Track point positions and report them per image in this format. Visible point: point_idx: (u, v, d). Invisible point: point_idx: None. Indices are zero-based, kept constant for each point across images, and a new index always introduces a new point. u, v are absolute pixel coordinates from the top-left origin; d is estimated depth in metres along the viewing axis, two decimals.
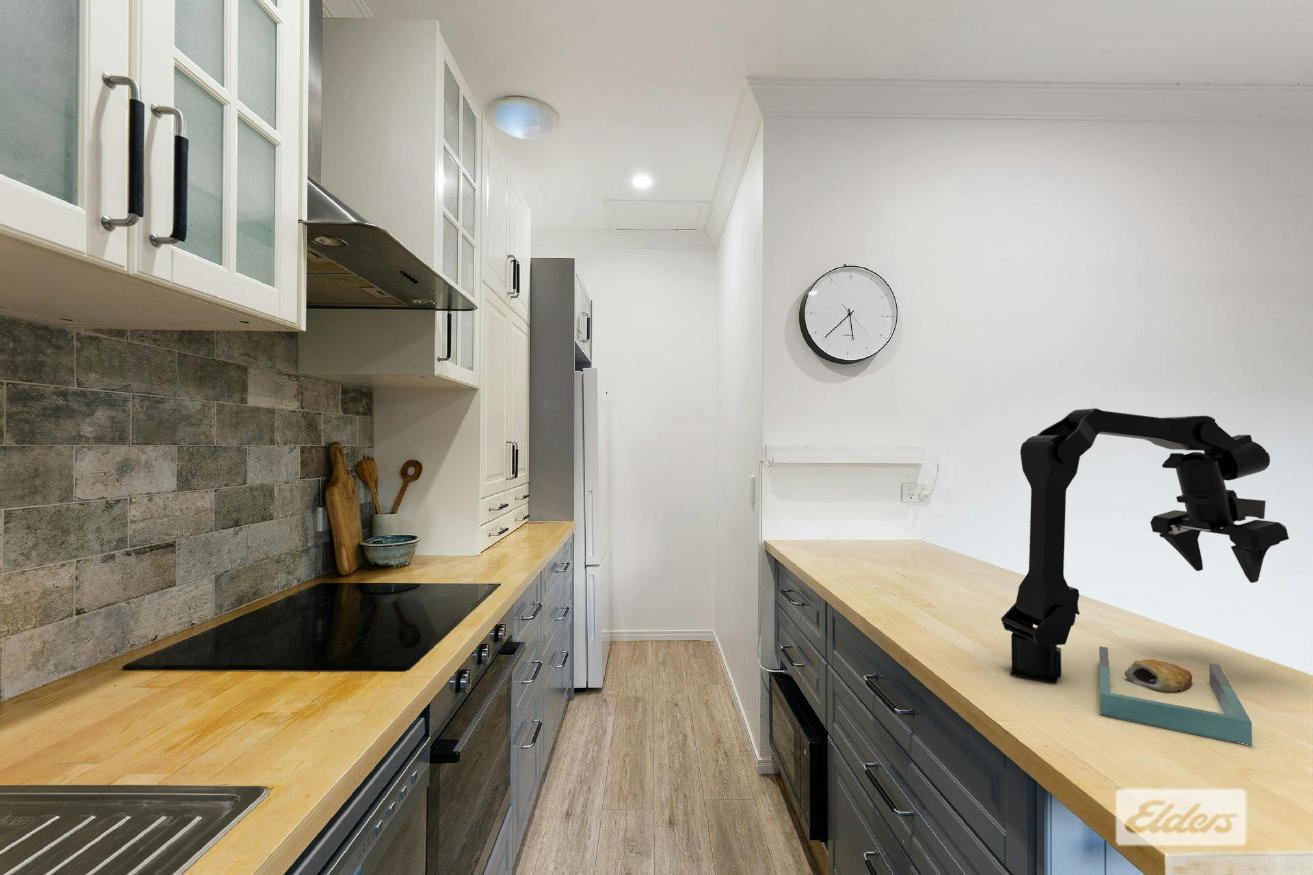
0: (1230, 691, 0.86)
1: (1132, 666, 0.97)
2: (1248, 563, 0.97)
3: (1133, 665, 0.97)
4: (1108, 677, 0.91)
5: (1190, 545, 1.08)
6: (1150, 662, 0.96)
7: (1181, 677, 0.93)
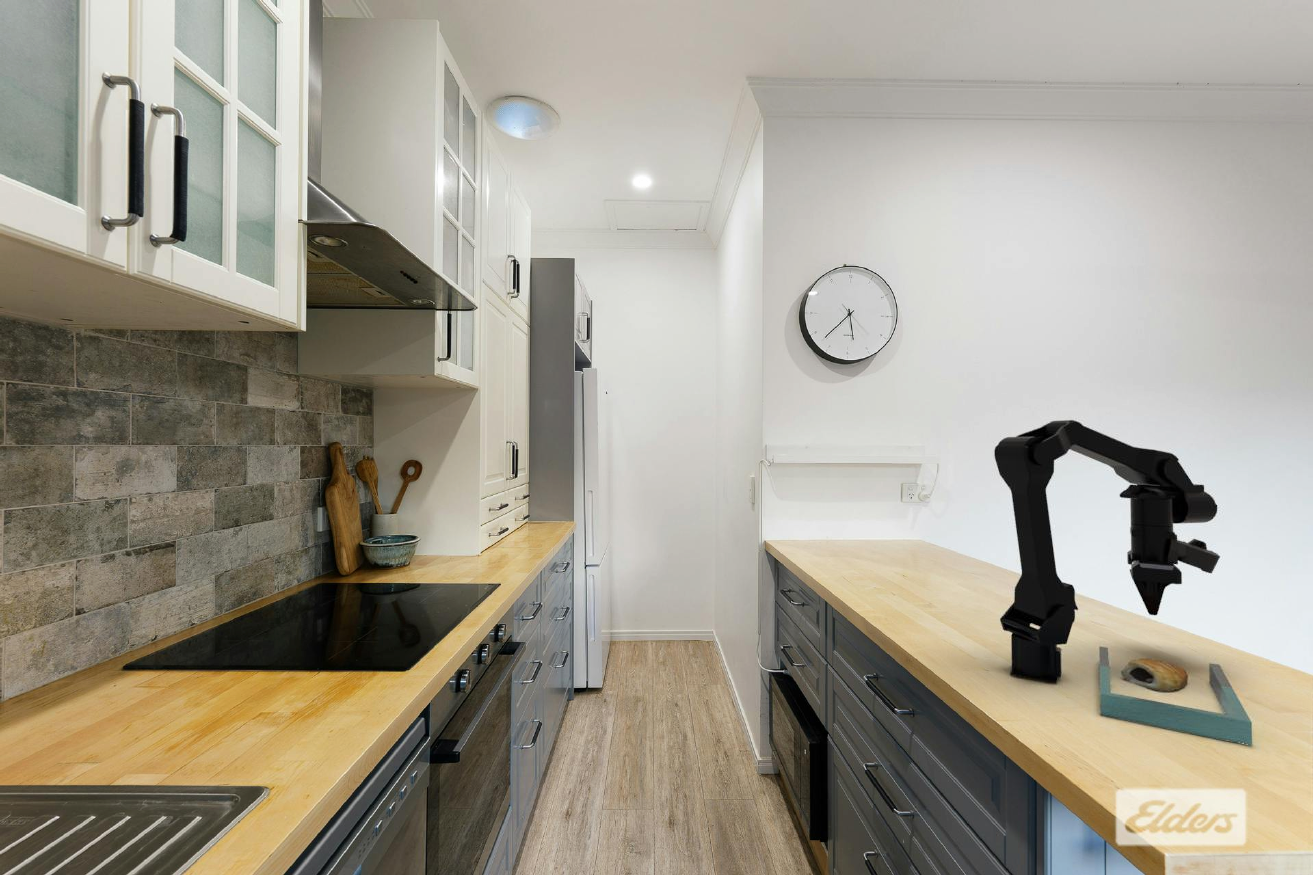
0: (1230, 691, 0.86)
1: (1129, 665, 0.97)
2: (1141, 592, 1.04)
3: (1130, 664, 0.97)
4: (1108, 677, 0.91)
5: None
6: (1146, 661, 0.97)
7: (1177, 676, 0.94)
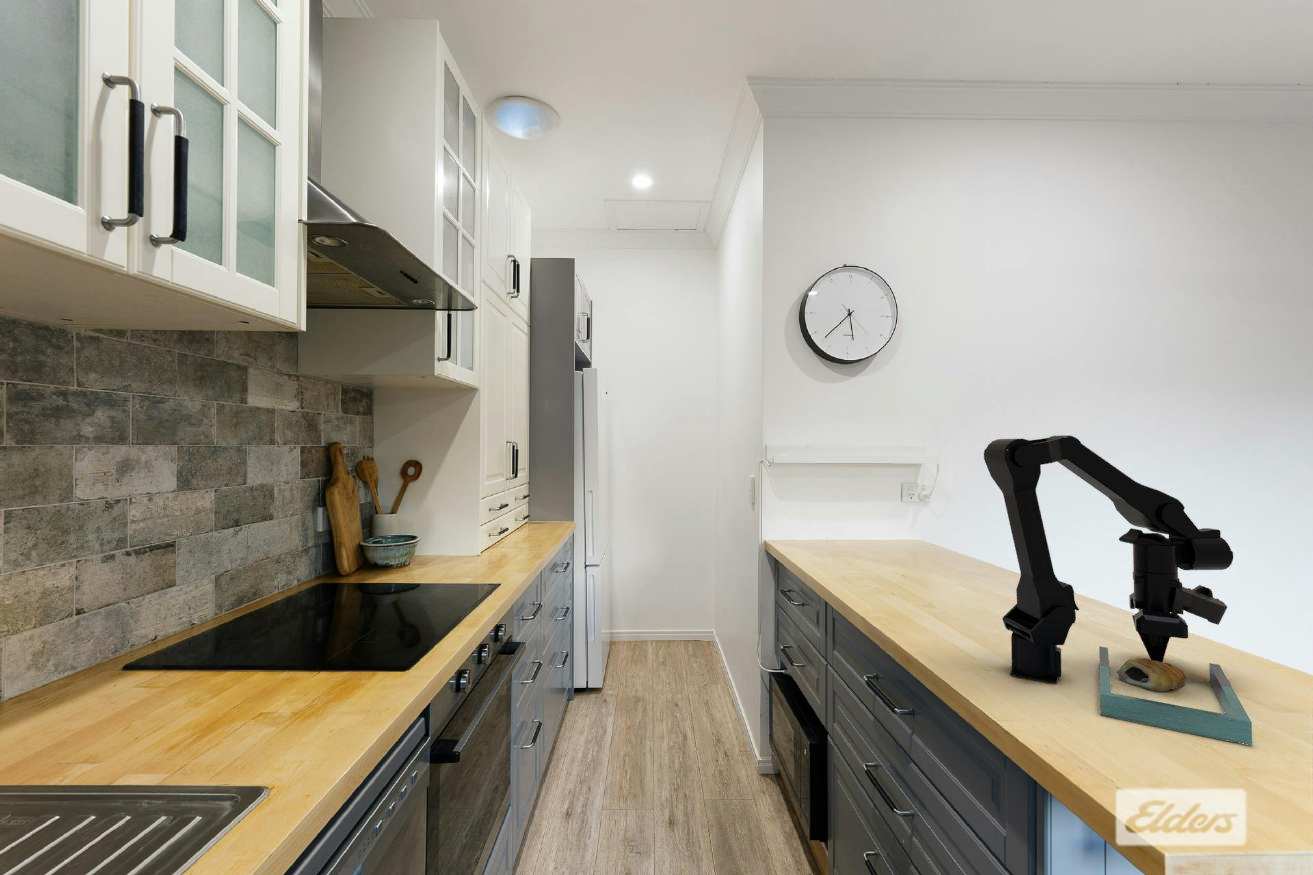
0: (1230, 691, 0.86)
1: (1124, 665, 0.97)
2: (1145, 642, 1.00)
3: (1125, 664, 0.97)
4: (1108, 677, 0.91)
5: None
6: (1142, 661, 0.96)
7: (1173, 676, 0.93)
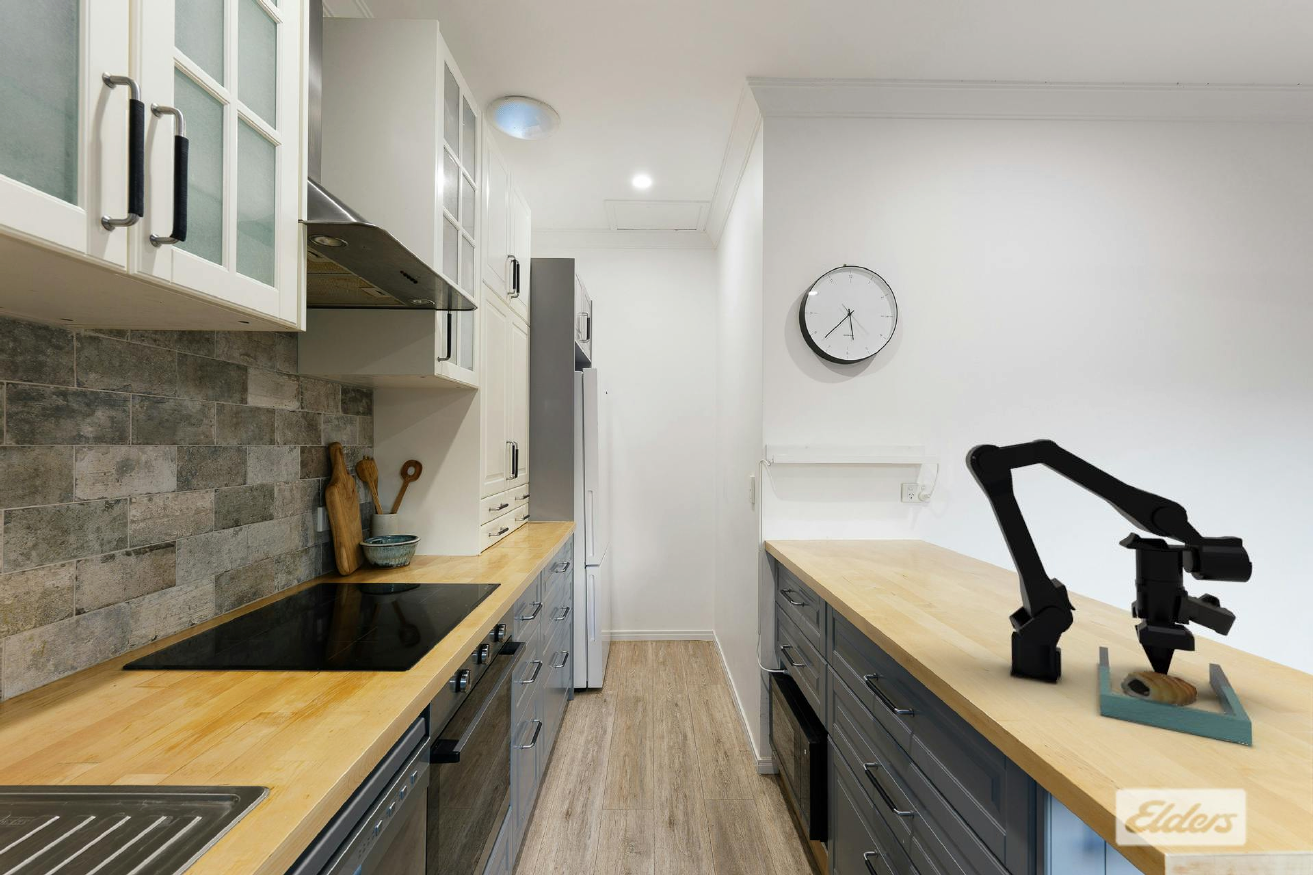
0: (1230, 691, 0.86)
1: (1127, 677, 0.92)
2: (1149, 654, 0.94)
3: (1128, 676, 0.92)
4: (1108, 677, 0.91)
5: None
6: (1148, 674, 0.91)
7: (1178, 691, 0.88)
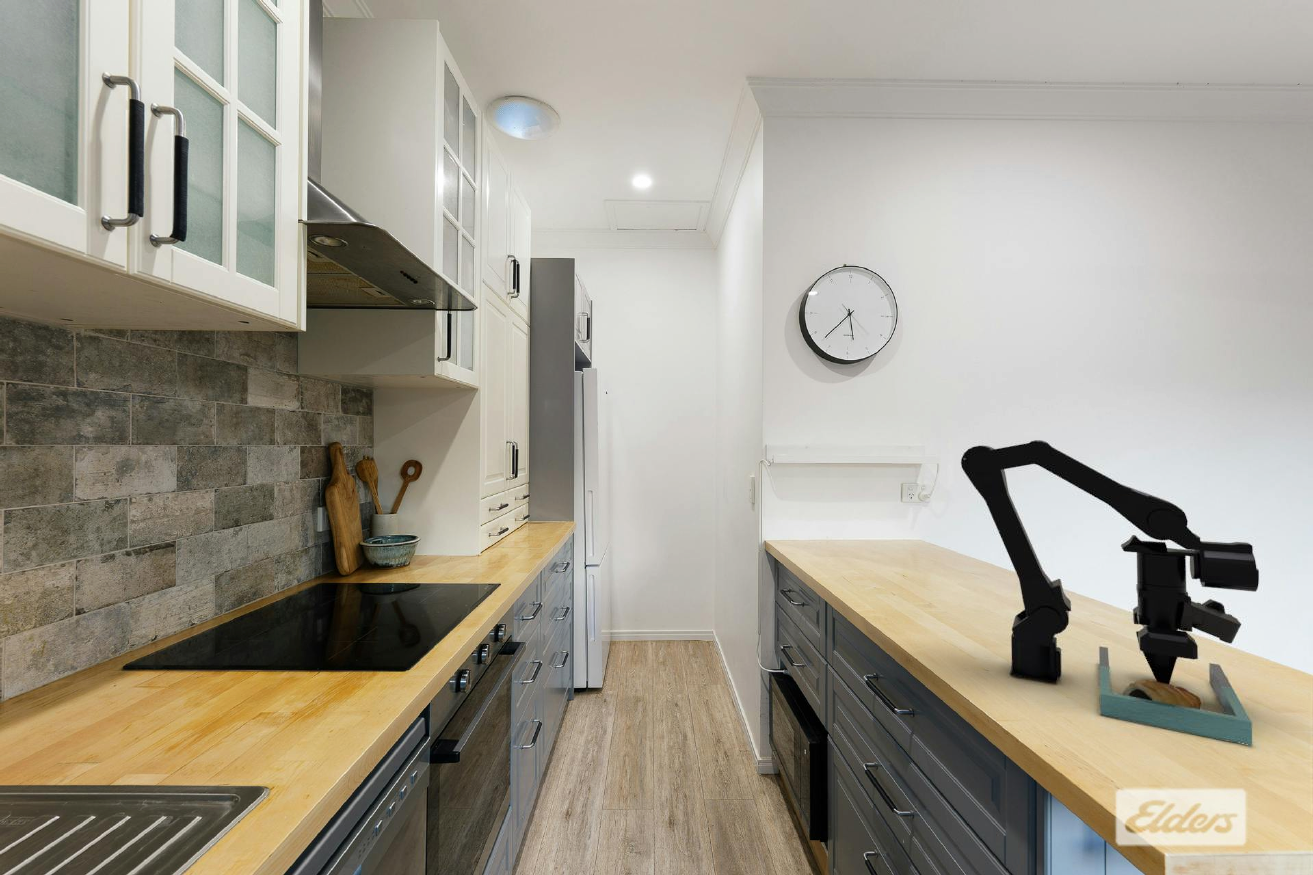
0: (1230, 691, 0.86)
1: (1129, 686, 0.89)
2: (1150, 661, 0.91)
3: (1130, 685, 0.89)
4: (1108, 677, 0.91)
5: None
6: (1150, 683, 0.88)
7: (1182, 702, 0.85)
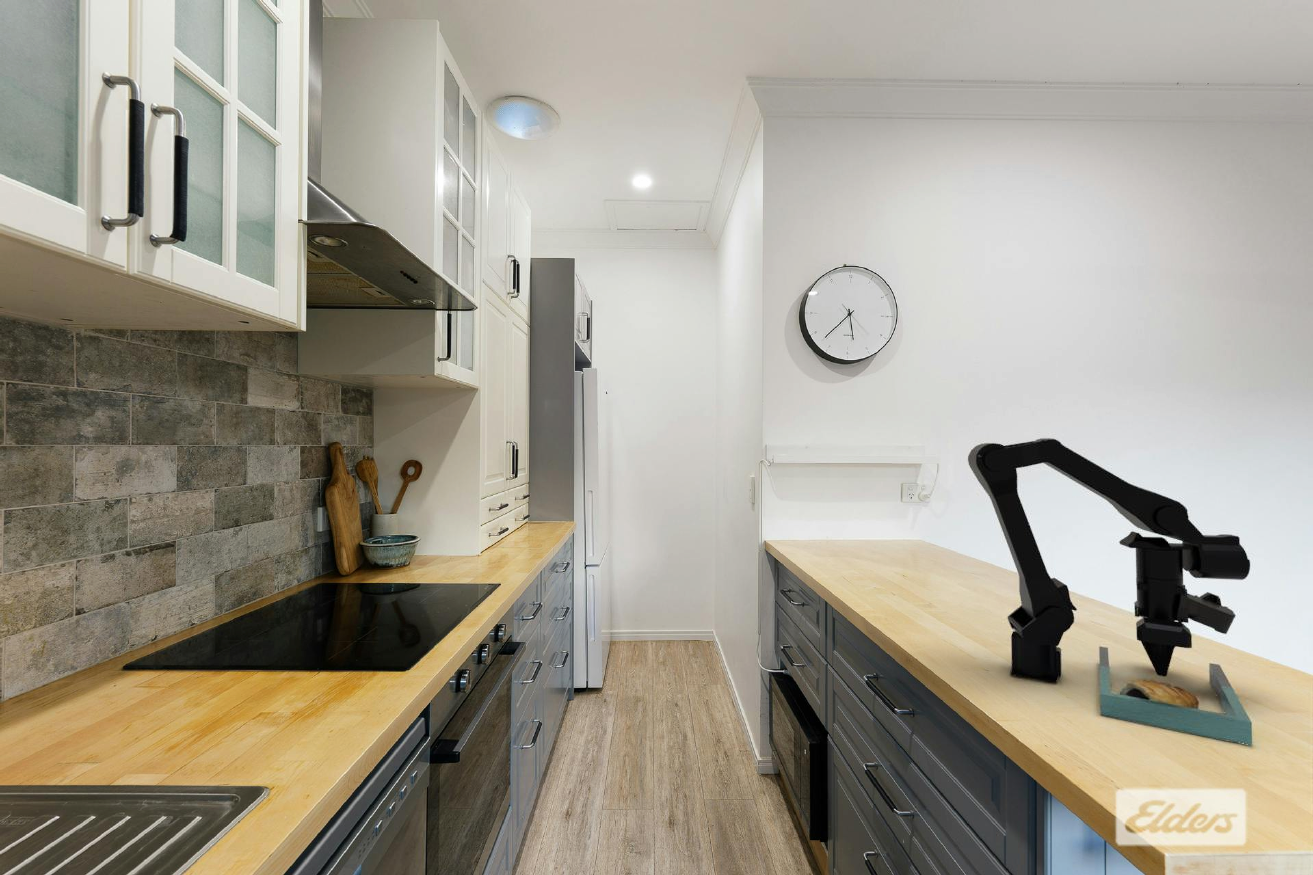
0: (1230, 691, 0.86)
1: (1126, 686, 0.89)
2: (1149, 651, 0.95)
3: (1127, 685, 0.89)
4: (1108, 677, 0.91)
5: None
6: (1147, 683, 0.88)
7: (1179, 701, 0.85)
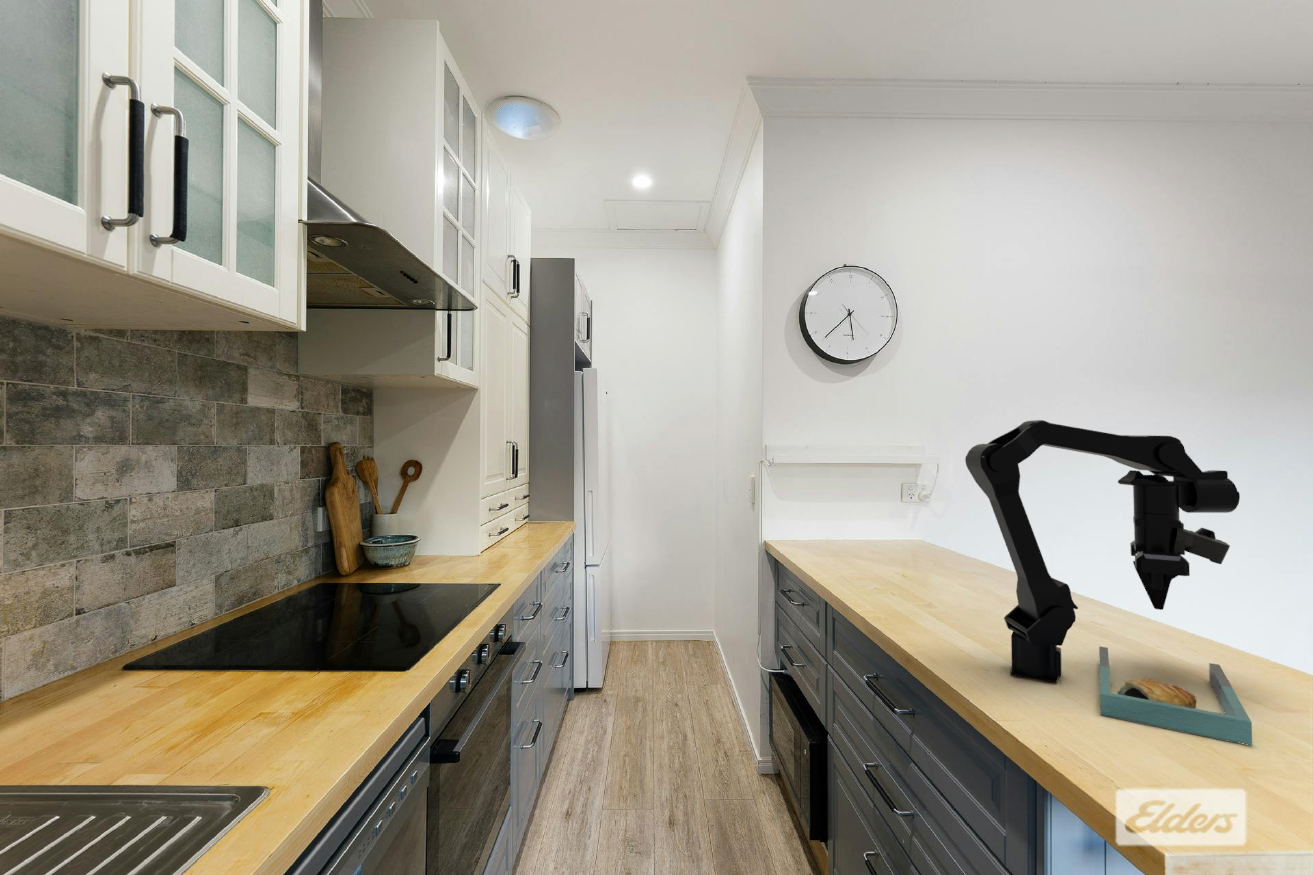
0: (1230, 691, 0.86)
1: (1124, 685, 0.89)
2: (1146, 585, 0.98)
3: (1125, 684, 0.89)
4: (1108, 677, 0.91)
5: None
6: (1145, 682, 0.88)
7: (1177, 700, 0.85)
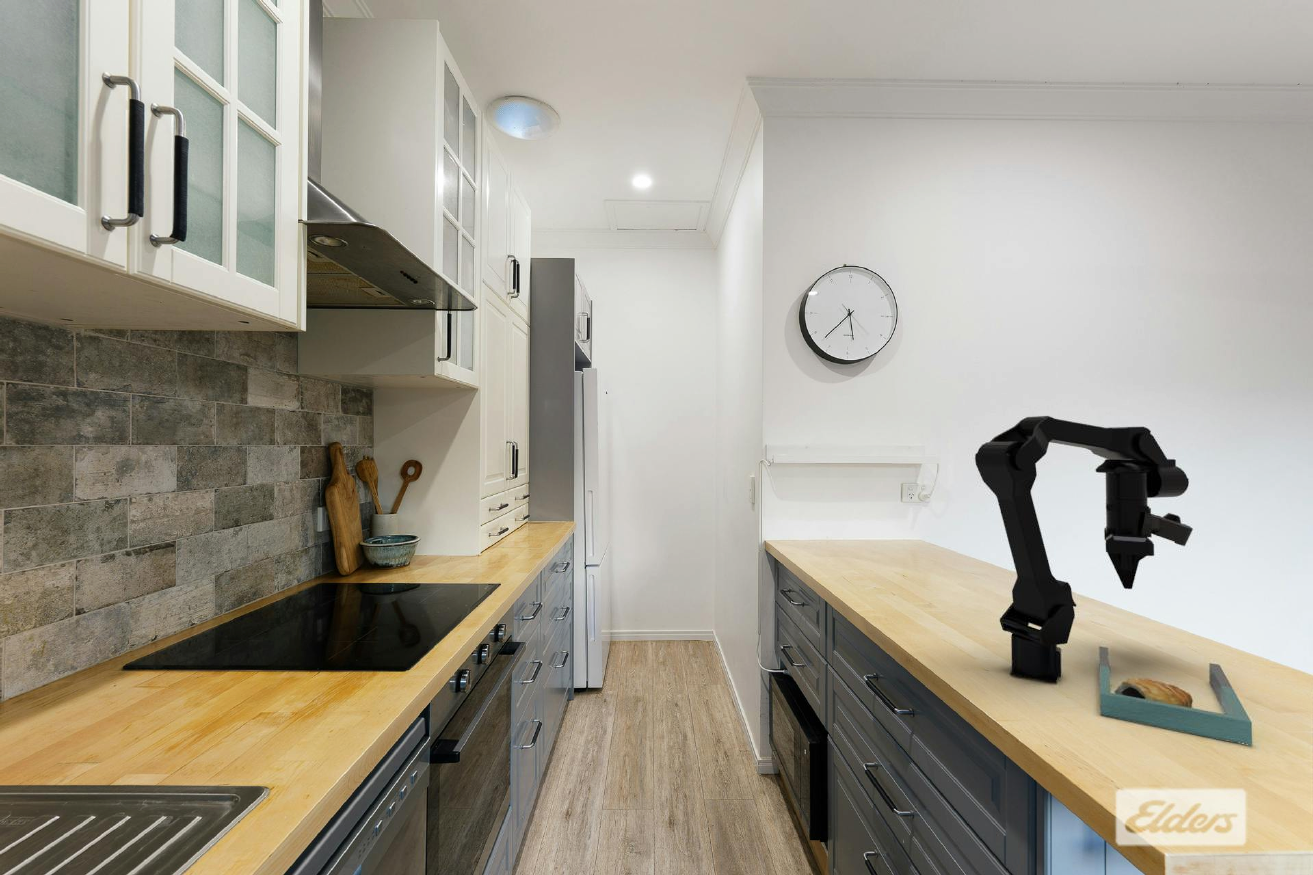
0: (1230, 691, 0.86)
1: (1121, 684, 0.90)
2: (1116, 566, 1.05)
3: (1122, 683, 0.89)
4: (1108, 677, 0.91)
5: None
6: (1142, 681, 0.89)
7: (1174, 700, 0.85)
